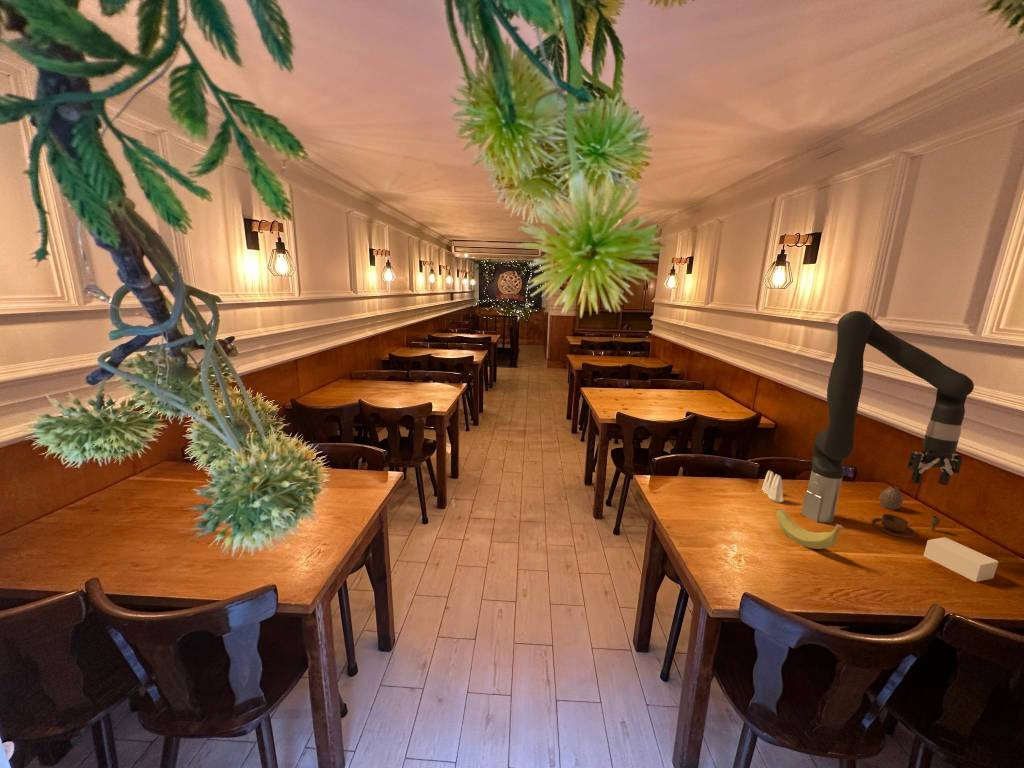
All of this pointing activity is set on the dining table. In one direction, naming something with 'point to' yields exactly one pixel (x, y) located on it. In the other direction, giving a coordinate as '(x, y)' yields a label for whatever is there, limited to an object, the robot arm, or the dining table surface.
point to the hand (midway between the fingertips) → (929, 483)
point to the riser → (961, 559)
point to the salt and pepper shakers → (773, 487)
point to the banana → (806, 533)
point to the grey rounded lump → (891, 498)
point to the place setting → (900, 524)
